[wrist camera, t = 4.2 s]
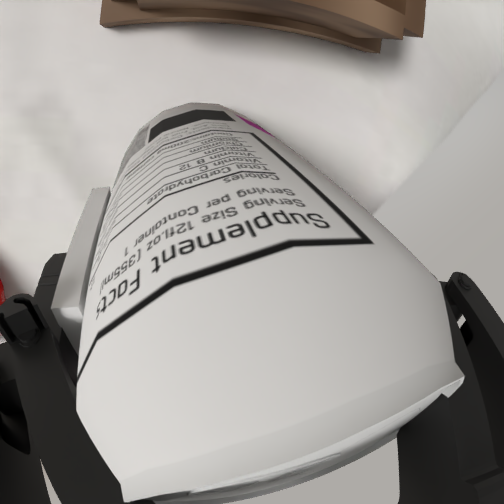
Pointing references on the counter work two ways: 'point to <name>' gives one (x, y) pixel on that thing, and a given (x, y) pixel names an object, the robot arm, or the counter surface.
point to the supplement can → (247, 319)
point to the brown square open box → (285, 17)
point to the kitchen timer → (1, 293)
